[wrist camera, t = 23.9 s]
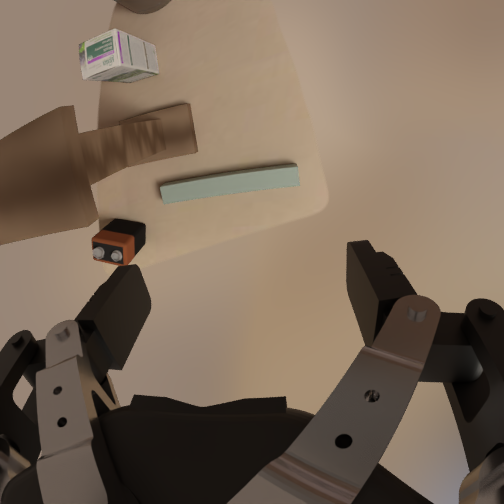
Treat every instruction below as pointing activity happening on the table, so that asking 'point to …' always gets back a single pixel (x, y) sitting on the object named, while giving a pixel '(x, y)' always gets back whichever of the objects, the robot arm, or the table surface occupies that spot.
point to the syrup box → (117, 58)
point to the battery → (118, 242)
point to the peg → (230, 183)
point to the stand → (77, 166)
